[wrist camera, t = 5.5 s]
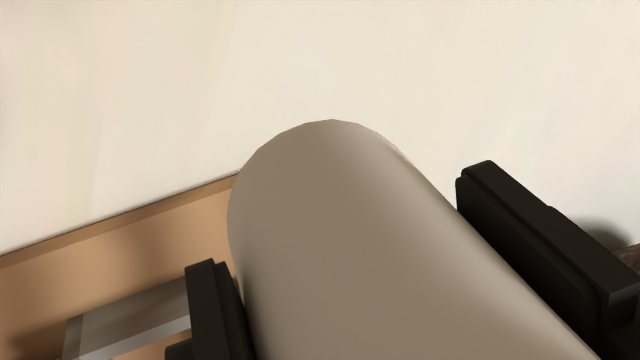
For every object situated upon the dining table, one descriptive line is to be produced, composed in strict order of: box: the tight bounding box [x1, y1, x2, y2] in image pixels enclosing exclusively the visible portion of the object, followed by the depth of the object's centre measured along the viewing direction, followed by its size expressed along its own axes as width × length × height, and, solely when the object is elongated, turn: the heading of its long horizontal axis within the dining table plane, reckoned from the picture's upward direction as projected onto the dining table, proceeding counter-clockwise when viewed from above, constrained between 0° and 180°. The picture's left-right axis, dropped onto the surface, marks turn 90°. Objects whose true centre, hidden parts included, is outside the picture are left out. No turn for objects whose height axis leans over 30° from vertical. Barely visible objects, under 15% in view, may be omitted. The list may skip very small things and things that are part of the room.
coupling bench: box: [0, 174, 244, 360], centre depth 28 cm, size 22×16×4 cm
